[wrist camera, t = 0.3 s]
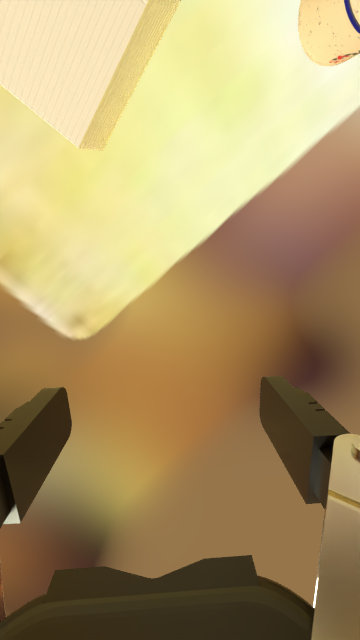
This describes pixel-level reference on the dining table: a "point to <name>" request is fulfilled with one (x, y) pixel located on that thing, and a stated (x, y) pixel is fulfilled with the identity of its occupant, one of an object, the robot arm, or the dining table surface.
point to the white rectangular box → (79, 59)
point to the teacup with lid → (329, 30)
